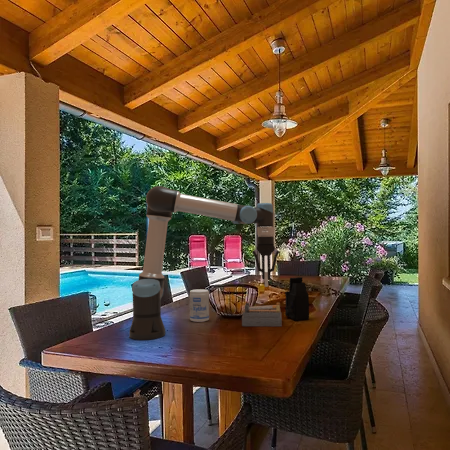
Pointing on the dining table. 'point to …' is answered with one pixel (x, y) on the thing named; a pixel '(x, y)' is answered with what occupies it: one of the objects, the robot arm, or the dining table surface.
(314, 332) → the dining table surface
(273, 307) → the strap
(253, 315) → the heatsink block
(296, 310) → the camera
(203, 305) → the supplement tub
